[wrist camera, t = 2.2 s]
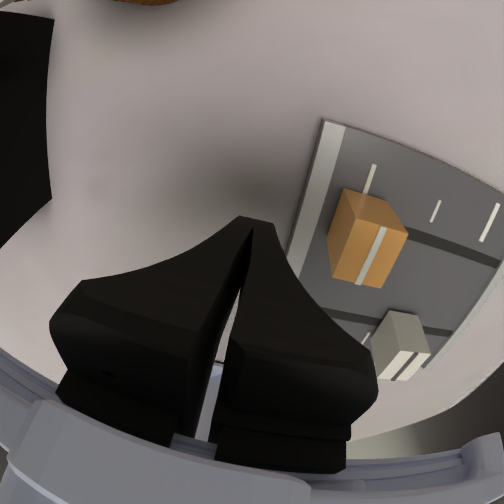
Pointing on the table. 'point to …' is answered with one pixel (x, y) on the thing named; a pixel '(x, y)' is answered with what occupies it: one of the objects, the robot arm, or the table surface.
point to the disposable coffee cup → (3, 0)
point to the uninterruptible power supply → (23, 119)
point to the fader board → (416, 244)
